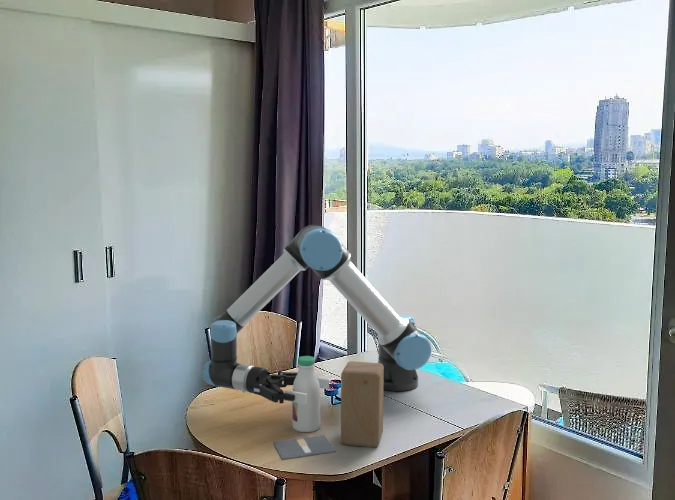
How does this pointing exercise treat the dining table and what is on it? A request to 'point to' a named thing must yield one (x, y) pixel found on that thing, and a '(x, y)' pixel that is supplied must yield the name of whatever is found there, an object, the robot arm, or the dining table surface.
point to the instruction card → (304, 447)
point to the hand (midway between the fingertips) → (317, 391)
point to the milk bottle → (307, 382)
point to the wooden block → (362, 403)
